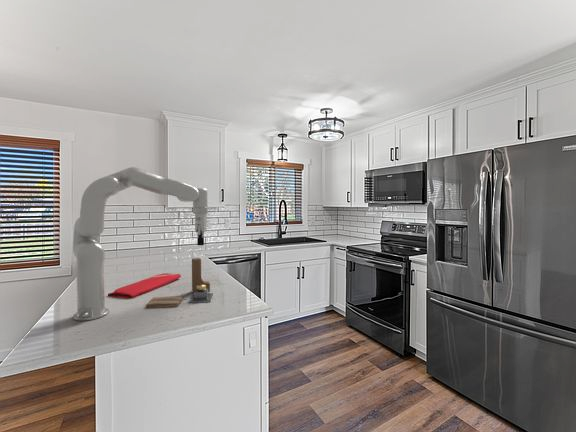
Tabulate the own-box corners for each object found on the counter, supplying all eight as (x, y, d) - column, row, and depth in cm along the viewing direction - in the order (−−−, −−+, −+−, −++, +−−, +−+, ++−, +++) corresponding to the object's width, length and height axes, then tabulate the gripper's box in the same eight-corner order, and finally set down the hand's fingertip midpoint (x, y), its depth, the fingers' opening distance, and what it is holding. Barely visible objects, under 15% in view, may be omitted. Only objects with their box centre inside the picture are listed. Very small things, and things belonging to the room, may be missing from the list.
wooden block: (208, 289, 162) (208, 257, 161) (210, 291, 158) (209, 258, 157) (192, 291, 159) (191, 258, 158) (192, 293, 154) (192, 259, 154)
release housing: (210, 302, 140) (210, 293, 140) (188, 303, 139) (188, 294, 139) (212, 294, 152) (212, 286, 152) (193, 295, 151) (193, 287, 151)
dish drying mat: (106, 297, 149) (106, 290, 149) (160, 278, 189) (160, 272, 189) (132, 299, 145) (132, 292, 145) (181, 279, 185) (181, 273, 185)
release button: (205, 290, 144) (205, 286, 144) (196, 291, 143) (196, 286, 143) (206, 288, 148) (206, 284, 148) (197, 288, 147) (197, 284, 147)
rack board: (178, 306, 134) (178, 303, 134) (146, 307, 132) (146, 304, 132) (183, 298, 145) (183, 295, 145) (153, 300, 143) (153, 297, 143)
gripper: (205, 211, 149) (206, 247, 150) (209, 210, 164) (209, 243, 165) (190, 211, 148) (190, 247, 149) (195, 210, 163) (195, 243, 164)
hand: (200, 245), depth 157 cm, fingers closed
